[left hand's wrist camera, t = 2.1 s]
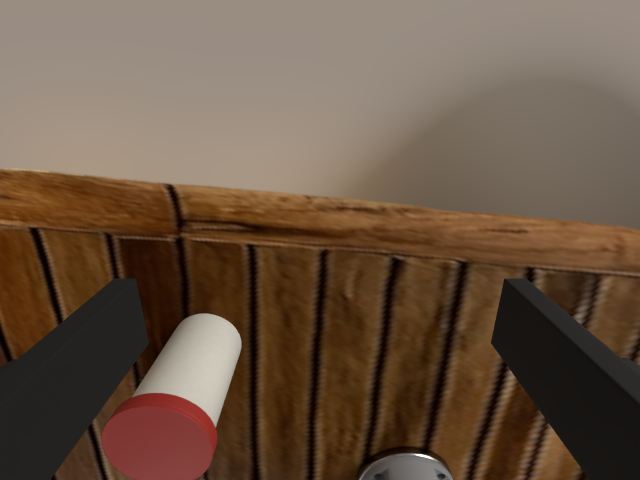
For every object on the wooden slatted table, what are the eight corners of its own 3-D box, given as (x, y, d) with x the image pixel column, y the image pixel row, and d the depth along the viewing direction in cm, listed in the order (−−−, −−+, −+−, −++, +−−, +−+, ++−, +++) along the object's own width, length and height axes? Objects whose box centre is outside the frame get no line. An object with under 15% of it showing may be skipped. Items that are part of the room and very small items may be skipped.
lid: (236, 452, 35) (232, 468, 33) (149, 481, 36) (142, 497, 35) (182, 378, 31) (175, 392, 30) (89, 412, 33) (78, 427, 31)
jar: (253, 356, 48) (224, 461, 34) (196, 377, 49) (146, 487, 35) (220, 303, 45) (174, 395, 31) (161, 327, 46) (90, 425, 32)
